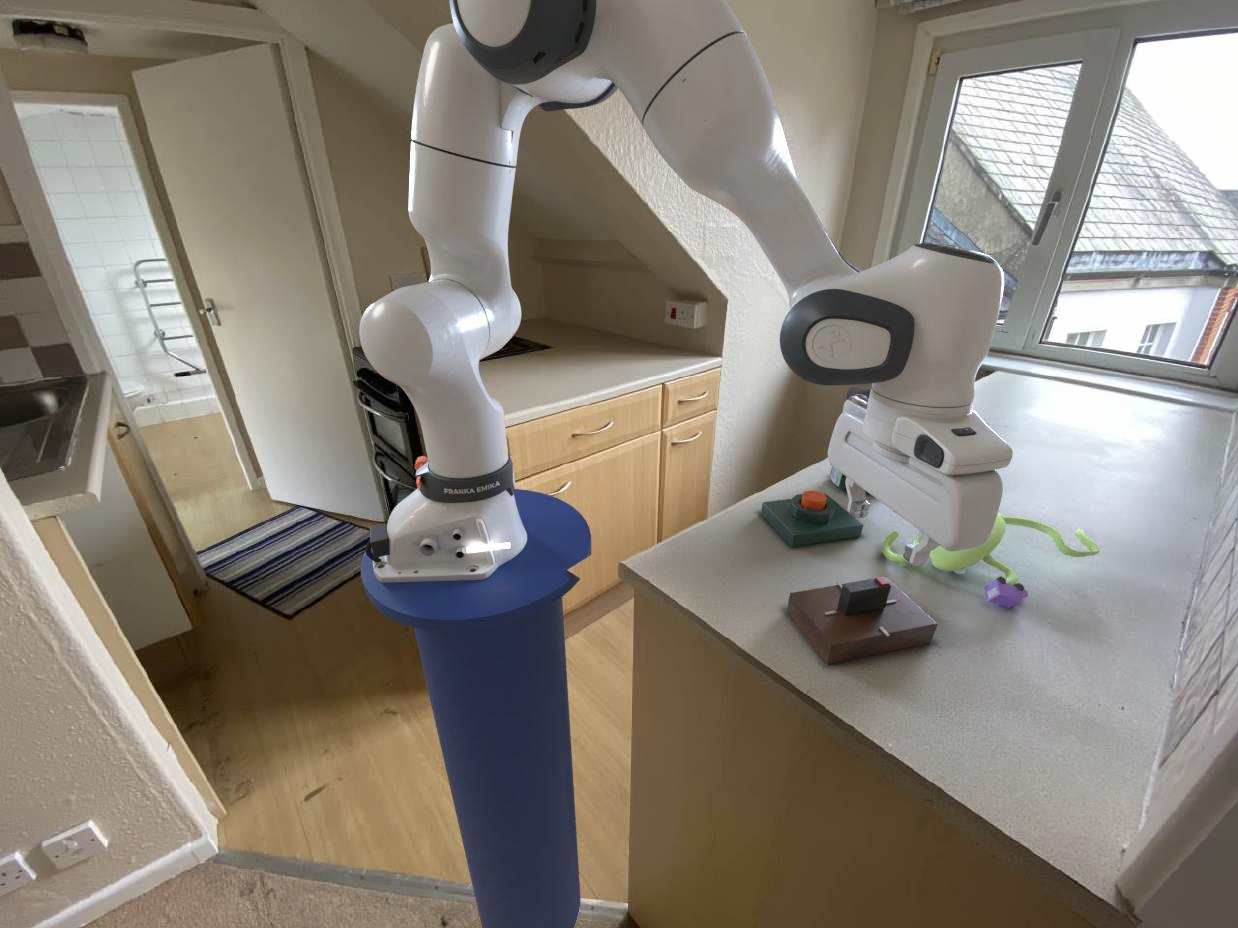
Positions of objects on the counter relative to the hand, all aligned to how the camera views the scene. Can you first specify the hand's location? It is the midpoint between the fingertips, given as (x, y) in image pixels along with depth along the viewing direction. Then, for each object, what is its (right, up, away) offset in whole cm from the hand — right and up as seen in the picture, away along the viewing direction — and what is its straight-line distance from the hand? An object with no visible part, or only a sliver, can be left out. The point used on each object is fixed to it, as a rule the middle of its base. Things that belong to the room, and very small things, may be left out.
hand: (883, 536), depth 59 cm
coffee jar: (+15, +4, +39) cm, 42 cm away
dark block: (0, -9, +5) cm, 11 cm away
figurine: (+24, -6, +19) cm, 32 cm away
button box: (+2, -2, +27) cm, 27 cm away
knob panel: (0, -12, +7) cm, 14 cm away
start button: (+2, +1, +26) cm, 26 cm away
